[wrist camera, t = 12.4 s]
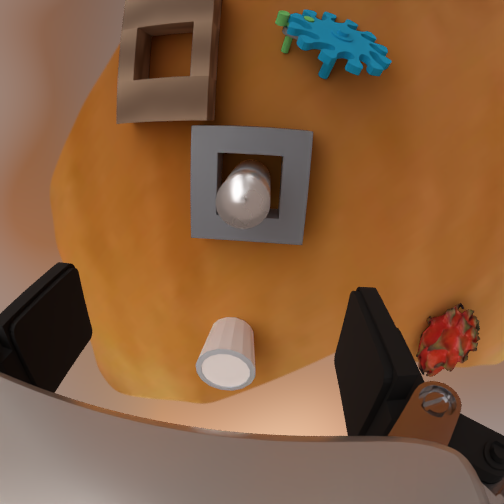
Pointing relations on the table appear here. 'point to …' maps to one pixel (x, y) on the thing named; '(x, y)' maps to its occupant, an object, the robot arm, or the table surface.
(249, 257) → the table surface
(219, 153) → the socket block
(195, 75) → the brown rectangular frame
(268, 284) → the table surface
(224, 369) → the white fluted cup
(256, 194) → the axle
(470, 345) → the dragon fruit
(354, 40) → the gear
